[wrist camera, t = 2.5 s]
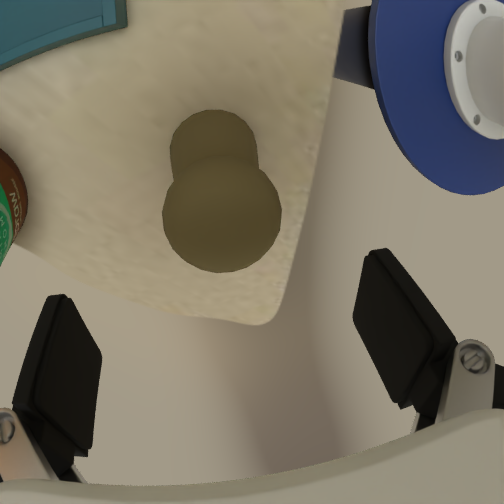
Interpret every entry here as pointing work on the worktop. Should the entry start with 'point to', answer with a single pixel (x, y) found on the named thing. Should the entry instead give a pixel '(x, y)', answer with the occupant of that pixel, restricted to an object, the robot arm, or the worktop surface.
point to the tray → (53, 25)
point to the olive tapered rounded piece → (219, 195)
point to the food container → (10, 203)
